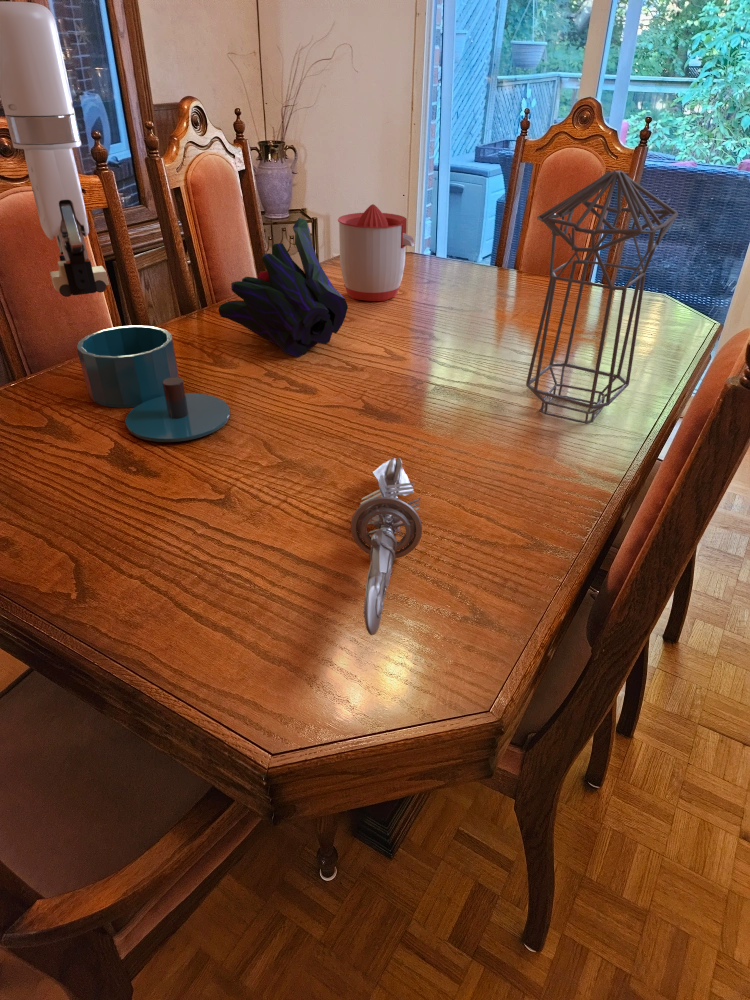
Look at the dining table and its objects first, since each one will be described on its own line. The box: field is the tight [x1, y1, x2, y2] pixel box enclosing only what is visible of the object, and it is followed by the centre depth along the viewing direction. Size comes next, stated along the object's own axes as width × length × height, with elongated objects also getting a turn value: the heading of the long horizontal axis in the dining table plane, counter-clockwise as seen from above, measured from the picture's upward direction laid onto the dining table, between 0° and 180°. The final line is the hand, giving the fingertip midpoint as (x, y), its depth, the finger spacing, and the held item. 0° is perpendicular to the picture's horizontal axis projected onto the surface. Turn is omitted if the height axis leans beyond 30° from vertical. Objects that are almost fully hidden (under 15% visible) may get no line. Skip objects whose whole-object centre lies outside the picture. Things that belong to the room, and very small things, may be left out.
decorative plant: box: [218, 217, 349, 358], centre depth 130 cm, size 21×26×30 cm
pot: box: [76, 325, 180, 409], centre depth 110 cm, size 15×15×8 cm
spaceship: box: [350, 457, 423, 636], centre depth 73 cm, size 8×35×8 cm
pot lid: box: [124, 377, 231, 443], centre depth 101 cm, size 16×16×7 cm
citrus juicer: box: [337, 203, 416, 302], centre depth 152 cm, size 16×17×20 cm
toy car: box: [49, 260, 110, 298], centre depth 88 cm, size 7×3×4 cm, turn 118°
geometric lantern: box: [525, 169, 679, 425], centre depth 97 cm, size 16×16×35 cm
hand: (81, 287), depth 88 cm, fingers closed on toy car, 3 cm apart
